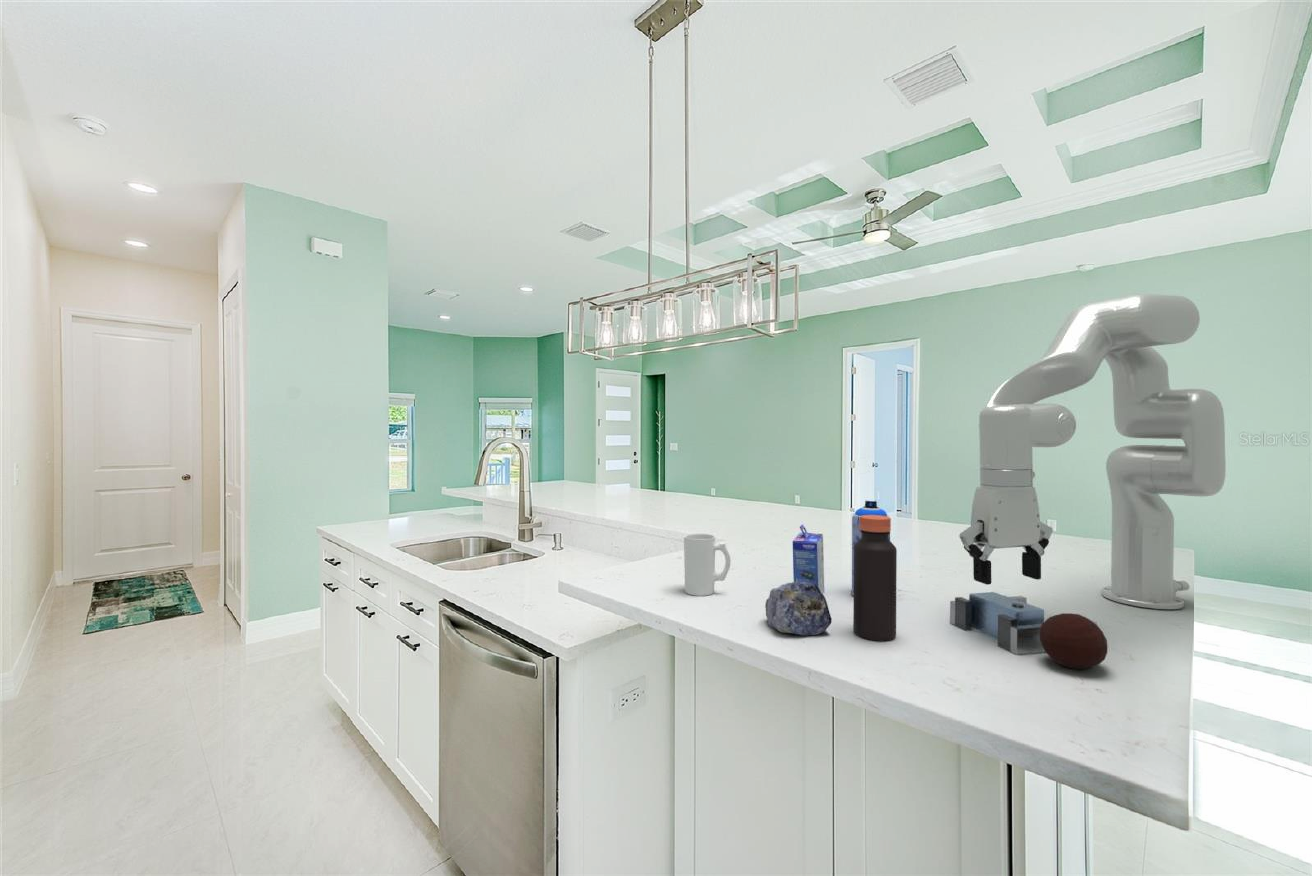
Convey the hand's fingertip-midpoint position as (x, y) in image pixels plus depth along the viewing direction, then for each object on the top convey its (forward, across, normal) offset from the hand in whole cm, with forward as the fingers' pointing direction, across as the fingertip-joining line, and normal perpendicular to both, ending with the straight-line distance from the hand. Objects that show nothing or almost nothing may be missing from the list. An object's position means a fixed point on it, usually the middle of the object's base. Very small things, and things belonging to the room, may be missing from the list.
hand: (1007, 579), depth 94 cm
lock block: (+10, +1, 0) cm, 10 cm away
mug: (+8, +43, -34) cm, 55 cm away
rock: (+9, +34, -11) cm, 37 cm away
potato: (+10, +1, +13) cm, 16 cm away
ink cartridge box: (+9, +22, -29) cm, 37 cm away
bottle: (+9, +22, -5) cm, 24 cm away
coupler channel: (+10, -2, 0) cm, 10 cm away
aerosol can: (+10, +10, -25) cm, 28 cm away
